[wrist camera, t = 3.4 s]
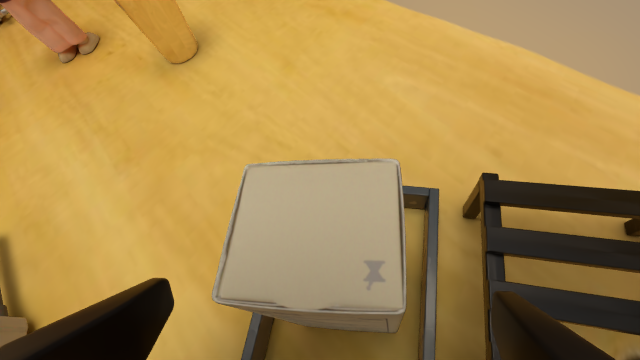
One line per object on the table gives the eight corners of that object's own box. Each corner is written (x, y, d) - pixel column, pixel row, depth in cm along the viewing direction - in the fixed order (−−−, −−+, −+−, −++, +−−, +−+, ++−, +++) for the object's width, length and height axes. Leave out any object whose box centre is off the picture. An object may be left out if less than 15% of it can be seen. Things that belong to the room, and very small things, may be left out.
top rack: (640, 223, 16) (744, 175, 11) (716, 507, 11) (945, 619, 7) (461, 205, 18) (488, 158, 14) (463, 440, 13) (506, 491, 9)
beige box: (396, 249, 18) (411, 155, 9) (398, 335, 16) (419, 325, 7) (307, 245, 19) (240, 157, 10) (298, 325, 17) (205, 306, 8)
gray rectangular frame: (433, 203, 19) (439, 188, 17) (426, 430, 14) (433, 443, 12) (296, 189, 21) (288, 175, 19) (249, 383, 16) (232, 388, 14)
